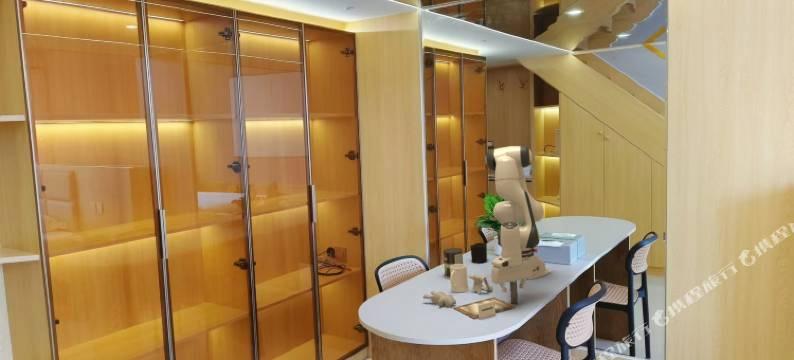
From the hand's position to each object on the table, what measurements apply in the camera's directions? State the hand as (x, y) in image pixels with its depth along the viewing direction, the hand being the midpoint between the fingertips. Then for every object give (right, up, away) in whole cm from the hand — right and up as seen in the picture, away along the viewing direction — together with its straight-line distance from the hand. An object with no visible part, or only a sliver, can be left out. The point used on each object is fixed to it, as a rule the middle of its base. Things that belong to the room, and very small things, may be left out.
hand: (513, 290), depth 241 cm
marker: (+1, -6, +1) cm, 6 cm away
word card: (-14, -9, -13) cm, 20 cm away
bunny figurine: (-31, -8, +8) cm, 33 cm away
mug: (-22, -6, +25) cm, 33 cm away
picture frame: (-13, -8, -2) cm, 15 cm away
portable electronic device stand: (-11, -5, +21) cm, 24 cm away
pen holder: (-4, +1, +74) cm, 74 cm away
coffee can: (-21, -3, +49) cm, 54 cm away
